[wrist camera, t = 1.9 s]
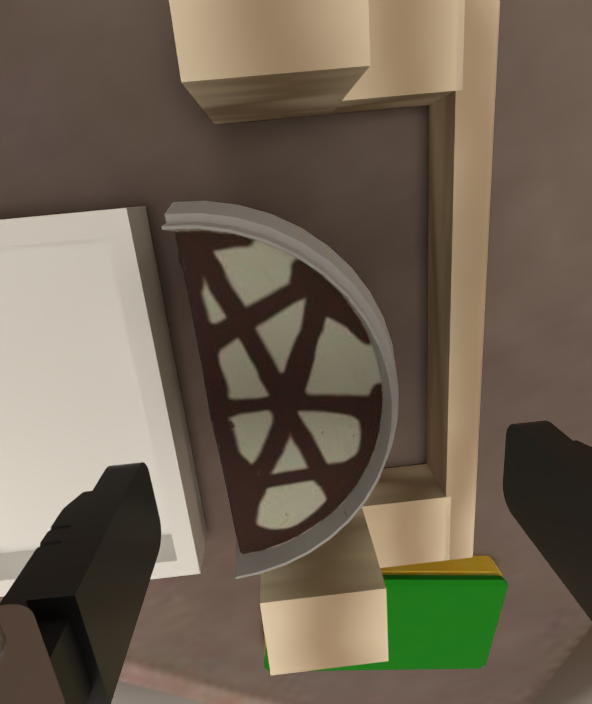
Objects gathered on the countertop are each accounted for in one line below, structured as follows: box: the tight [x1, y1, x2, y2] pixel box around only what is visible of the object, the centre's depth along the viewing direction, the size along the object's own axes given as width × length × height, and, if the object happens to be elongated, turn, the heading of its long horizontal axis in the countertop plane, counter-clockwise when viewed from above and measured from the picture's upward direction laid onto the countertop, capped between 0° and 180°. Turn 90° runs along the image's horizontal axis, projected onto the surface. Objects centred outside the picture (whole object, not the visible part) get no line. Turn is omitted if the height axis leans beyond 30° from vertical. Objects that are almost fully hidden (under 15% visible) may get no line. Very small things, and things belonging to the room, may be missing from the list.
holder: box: [169, 0, 500, 675], centre depth 19 cm, size 11×26×8 cm, turn 5°
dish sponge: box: [265, 556, 508, 671], centre depth 28 cm, size 7×14×2 cm, turn 86°
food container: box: [161, 201, 399, 579], centre depth 18 cm, size 12×6×10 cm, turn 7°
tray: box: [0, 206, 207, 597], centre depth 22 cm, size 12×18×3 cm, turn 5°
